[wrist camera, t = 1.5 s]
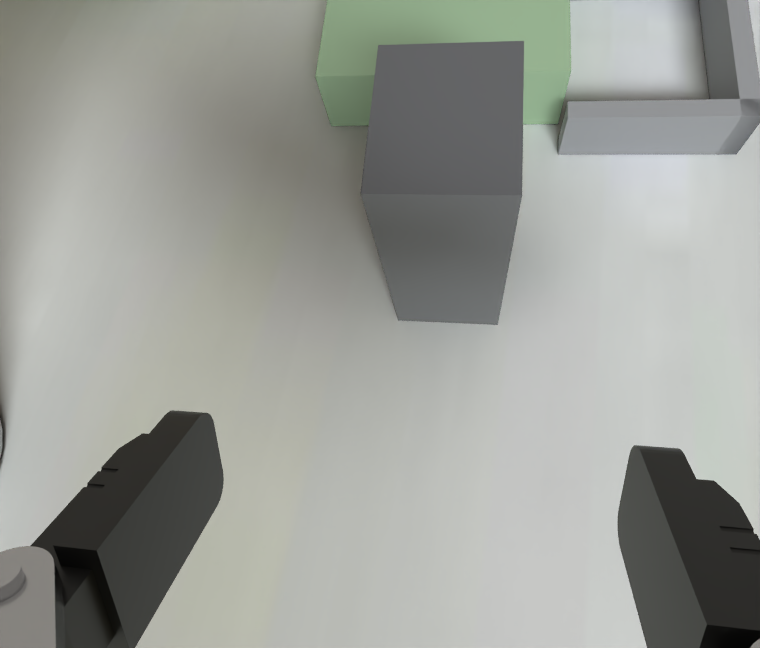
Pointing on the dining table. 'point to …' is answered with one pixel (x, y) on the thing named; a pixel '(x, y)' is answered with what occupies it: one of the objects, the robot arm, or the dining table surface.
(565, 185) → the dining table surface
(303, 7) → the dining table surface
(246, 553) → the dining table surface
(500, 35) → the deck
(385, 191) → the tall grey cuboid
